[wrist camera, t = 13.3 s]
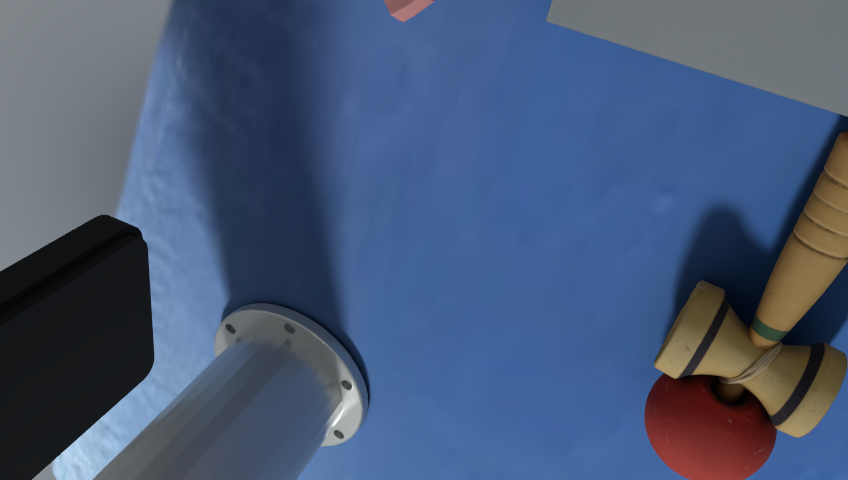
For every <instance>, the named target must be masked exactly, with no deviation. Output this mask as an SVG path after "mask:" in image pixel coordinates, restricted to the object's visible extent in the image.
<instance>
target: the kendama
mask: <svg viewBox="0 0 848 480" xmlns="http://www.w3.org/2000/svg"><path fill="white" fill-rule="evenodd" d="M824 169H825V170H824V171H823V172H822V173H821V174H820V176H819V178H818V180H817V182H816V184H815V187H814V189H813V190H814V191H813V192H812V193H811V195H810V197H809V199H808V201H807V203H806V205H805V206H804V210H803V211H802V213H801V214H800V216H799V218H798V220H797V222H796V224H795V226H794V231H792V233H791V234H790V236H789V238H788V240H787V242H786V244H785V246H784V248H783V250H782V251H781V254H780V256H779V258H778V260H777V262H776V264H775V266H774V268H773V271H772V273H771V275H770V277H769V280H768V282H767V285H766V288H765V290H764V293H763V295H762V297H761V300H760V303H759V305H758V308H757V310H756V313H755V315H754V318H753V321H752V323H751V325H750V328H748V327H747V326H746V325H745V324H744V323H743V322H742V321H741V320H740V319H739V318H738V316H737V315H736V314H735V312H734V311H733V309H732V308H731V306H730V304H729V302H728V300H727V296H726V294H725V291H724V289H721V288H719V287H717V286H715V285H712V284H710V283H708V282H705V281H703V280H702V281H700V282H698V283H697V285H696V287H695V288H694V290H693V292H692V293H691V295H690V297H689V299H688V301H687V303H686V304H685V306H684V307H683V308H682V310H681V311H680V313H679V315H678V317H677V319H676V320H675V322H674V324H673V326H672V328H671V330H670V331H669V333H668V335H667V337H666V339H665V341H664V343H663V345H662V347H661V349H660V351H659V353H658V355H657V356H656V359H655V361H654V366H655V367H656V368H657V369H659V370H660V371H662V372H664V374H663V375H662V376H661V377H660V378H659V379H658V380H657V381H656V382H655V384H654V385H653V387H652V389H651V391H650V393H649V395H648V398H647V401H646V406H645V416H644V417H645V427H646V431H647V435H648V438H649V440H650V443H651V445H652V447H653V448H654V450H655V452H656V453H657V454H658V456H659V457H660V458H661V459H662V460H663V462H664V463H665V464H666V465H667V466H668V467H670V468H671V469H672V470H674V471H675V472H676V473H678V474H680V475H681V476H683V477H685V478H687V479H690V480H743V479H745V478H747V477H749V476H751V475H752V474H754V473H755V472H756V471H757V470H759V469H760V468H761V467H762V466H763V465H764V463H765V462H766V461H767V459H768V458H769V456H770V454H771V452H772V450H773V447H774V445H775V440H776V433H777V429H778V430H780V431H782V432H785V433H787V434H789V435H791V436H794V437H797V438H799V437H802V436H804V435H806V434H808V433H809V432H810V431H811V430H812V429H813V428H814V427H815V426H816V425H817V424H818V423H819V422H820V420H821V419H822V418H823V416H824V415H825V414H826V412H827V411H828V409H829V408H830V406H831V404H832V403H833V401H834V400H835V398H836V396H837V394H838V392H839V390H840V387H841V385H842V382H843V380H844V377H845V374H846V370H847V357H846V355H845V353H843V352H841V351H839V350H838V349H836V348H834V347H832V346H831V345H829V344H827V343H818V344H812V345H804V346H793V345H786V344H782V343H781V339H782V338H783V337H784V336H785V335H786V334H787V333H788V332H789V331H790V330H791V329H792V327H793V326H794V325H795V324H796V323H797V322H798V321H799V320H800V319H801V318H802V317H803V316H804V314H805V313H806V312H807V311H808V310H809V309H810V308H811V307H812V306H813V304H814V303H815V302H816V301H817V300H818V299H819V298H820V296H821V295H822V294H823V293H824V292H825V290H826V289H827V288H828V286H829V285H830V284H831V283H832V282H833V280H834V279H835V278H836V277H837V275H838V274H839V273H840V271H841V270H842V269H843V267H844V266H845V265H846V263H847V262H848V131H846V132H841V133H840V134H839V136H838V137H837V139H836V142H835V144H834V146H833V148H832V151H831V153H830V155H829V157H828V159H827V161H826V164H825V166H824Z"/></svg>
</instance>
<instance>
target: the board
mask: <svg viewBox="0 0 848 480" xmlns="http://www.w3.org/2000/svg"><path fill="white" fill-rule="evenodd" d="M546 21H547V22H550V23H553V24H557V25H560V26H563V27H566V28H569V29H572V30H576V31H579V32H582V33H585V34H588V35H591V36H595V37H598V38H601V39H604V40H607V41H610V42H613V43H617V44H620V45H623V46H626V47H629V48H632V49H636V50H639V51H642V52H645V53H648V54H651V55H655V56H658V57H661V58H664V59H667V60H670V61H673V62H677V63H680V64H683V65H686V66H689V67H692V68H696V69H699V70H702V71H705V72H708V73H711V74H715V75H718V76H721V77H724V78H727V79H730V80H733V81H737V82H740V83H743V84H746V85H749V86H752V87H756V88H759V89H762V90H765V91H768V92H771V93H774V94H778V95H781V96H784V97H787V98H790V99H793V100H797V101H800V102H803V103H806V104H809V105H812V106H816V107H819V108H822V109H825V110H828V111H831V112H834V113H838V114H841V115H844V116H847V117H848V0H552V3H551V6H550V10H549V13H548V17H547V20H546Z"/></svg>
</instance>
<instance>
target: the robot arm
mask: <svg viewBox="0 0 848 480" xmlns="http://www.w3.org/2000/svg"><path fill="white" fill-rule="evenodd" d="M214 348H215V356H216V359H215V360H214V361H213V362H212V363H211V364H210V365H209V366H208V367H207V368H206V369H204V370H203V371H202V372H201V373H200V374H199V375H198V376H197V377H196V378H195V379H194V380H193V381H192V382H191V383H190V384H189V385H188V386H187V387H186V388H185V389H184V390H183V391H182V392H181V393H180V394H179V395H178V396H177V397H176V398H175V399H174V400H173V401H172V402H171V403H170V404H169V405H168V406H167V407H166V408H165V409H164V410H163V411H162V412H161V413H160V414H159V415H158V416H157V417H156V418H155V419H154V420H153V421H152V422H151V423H150V424H148V425H147V426H146V427H145V428H144V429H143V430H142V431H141V432H140V433H139V434H138V435H137V436H136V437H135V438H134V439H133V440H132V441H131V442H130V443H129V444H128V445H127V446H126V447H125V448H124V449H123V450H122V451H121V452H120V453H119V454H118V455H117V456H116V457H115V458H114V459H113V460H112V461H111V462H110V463H109V464H108V465H107V466H106V467H105V468H104V469H103V470H102V471H101V472H100V473H99V474H98V475H97V476H96V477H95V478H94V479H93V480H297V478H298V477H299V475H300V474H301V472H302V471H303V470H304V468H305V467H306V465H307V464H308V463H309V461H310V460H311V458H312V457H313V456H314V454H315V453H316V451H317V450H318V449H319V447H320V446H333V445H337V444H341V443H344V442H346V441H347V440H349V439H350V438H352V437H353V436H354V435H355V433H356V432H357V431H358V429H359V428H360V426H361V425H362V423H363V421H364V419H365V418H366V415H367V410H368V393H367V390H366V386H365V382H364V379H363V377H362V375H361V373H360V371H359V369H358V367H357V365H356V364H355V362H354V361H353V359H352V358H351V356H350V355H349V353H348V352H347V351H346V350H345V348H344V347H343V346H342V345H341V344H340V343H339V342H338V340H337V339H335V338H334V337H333V336H332V335H331V334H330V333H329V332H328V331H326V330H325V329H324V328H323V327H321V326H320V325H318V324H317V323H315V322H314V321H312V320H311V319H310V318H308V317H306V316H304V315H302V314H300V313H298V312H296V311H293V310H290V309H288V308H285V307H282V306H278V305H272V304H266V303H257V304H249V305H245V306H242V307H240V308H238V309H236V310H235V311H233V312H232V313H231V314H230V315H229V316H227V317H226V318H225V319H224V320H223V321H222V323H221V324H220V326H219V328H218V329H217V332H216V336H215V340H214ZM153 363H154V343H153V327H152V311H151V294H150V278H149V262H148V247H147V243H146V242H145V241H144V240H143V237H142V233H141V231H140V230H139V229H138V228H137V227H134V226H132V225H130V224H128V223H125V222H123V221H120V220H118V219H116V218H113V217H111V216H109V215H100V216H97V217H95V218H94V219H91V220H90V221H88V222H86V223H85V224H83V225H81V226H79V227H77V228H76V229H74V230H72V231H70V232H69V233H67V234H65V235H63V236H62V237H60V238H58V239H56V240H55V241H53V242H51V243H49V244H48V245H46V246H44V247H42V248H41V249H39V250H37V251H36V252H34V253H32V254H30V255H29V256H27V257H25V258H23V259H21V260H20V261H18V262H16V263H14V264H13V265H11V266H9V267H8V268H6V269H4V270H2V271H1V272H0V480H32V479H33V478H34V477H35V476H36V475H37V474H38V473H40V472H41V471H42V470H43V469H44V468H45V467H46V466H47V465H49V464H50V463H51V462H52V461H53V460H54V459H55V458H56V457H58V456H59V455H60V454H61V453H62V452H63V451H64V450H65V449H67V448H68V447H69V446H70V445H71V444H72V443H73V442H74V441H75V440H77V439H78V438H79V437H80V436H81V435H82V434H83V433H84V432H86V431H87V430H88V429H89V428H90V427H91V426H92V425H93V424H95V423H96V422H97V421H98V420H99V419H100V418H101V417H102V416H103V415H105V414H106V413H107V412H108V411H109V410H110V409H111V408H112V407H114V406H115V405H116V404H117V403H118V402H119V401H120V400H121V399H123V398H124V397H125V396H126V395H127V394H128V393H129V392H130V391H131V390H133V389H134V388H135V387H136V386H137V385H138V384H139V383H140V382H142V381H143V380H144V379H145V378H146V376H147V375H148V374H149V372H150V371H151V368H152V366H153Z"/></svg>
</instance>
